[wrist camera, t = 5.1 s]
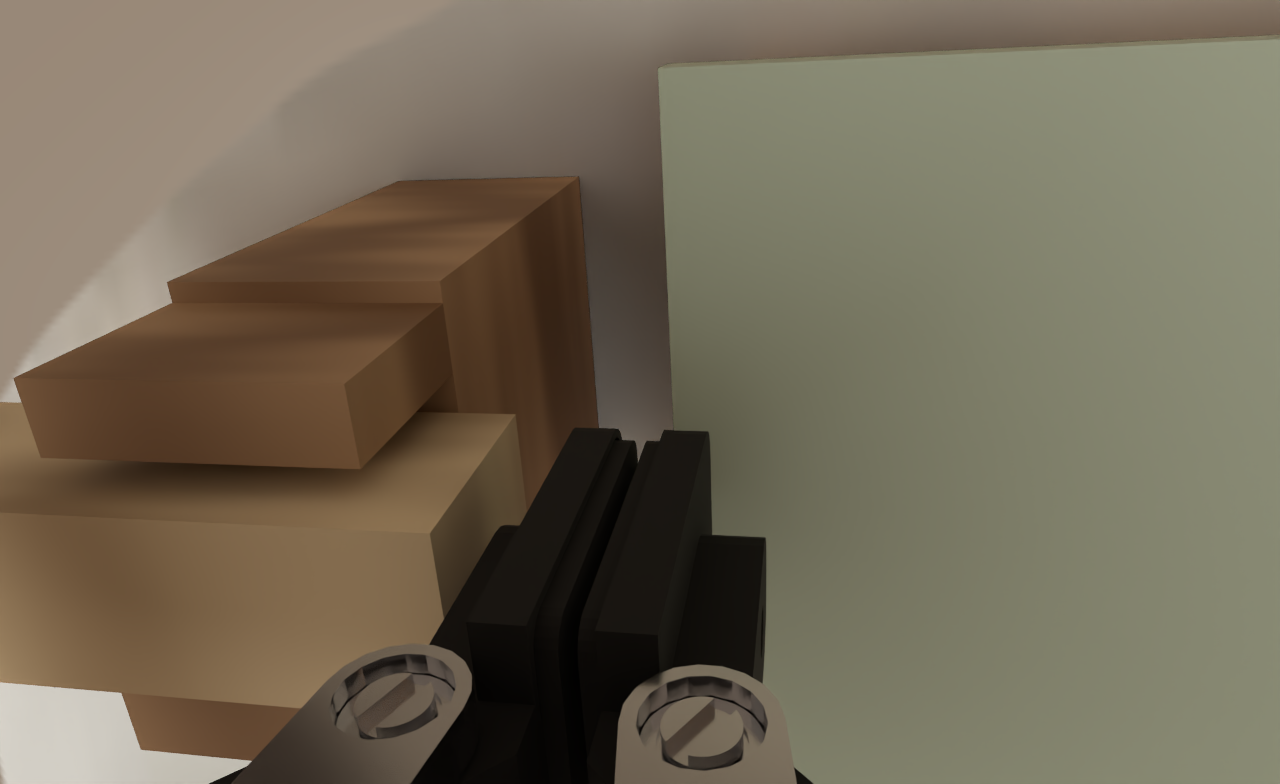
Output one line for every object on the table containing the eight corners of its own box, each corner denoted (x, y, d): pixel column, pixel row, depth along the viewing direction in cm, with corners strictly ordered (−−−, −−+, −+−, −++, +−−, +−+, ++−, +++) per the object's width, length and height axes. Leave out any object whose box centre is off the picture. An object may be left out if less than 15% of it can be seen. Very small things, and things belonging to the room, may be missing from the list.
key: (515, 414, 12) (430, 534, 9) (534, 572, 13) (461, 722, 10) (0, 402, 14) (-203, 503, 11) (51, 546, 15) (-124, 670, 12)
